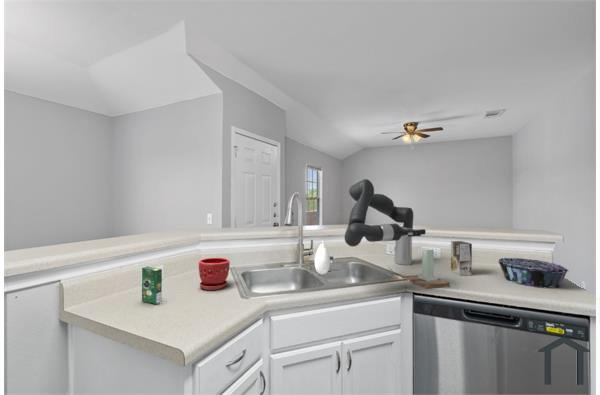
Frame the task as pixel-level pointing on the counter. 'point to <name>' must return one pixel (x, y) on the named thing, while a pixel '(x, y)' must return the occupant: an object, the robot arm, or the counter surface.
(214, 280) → the plant pot
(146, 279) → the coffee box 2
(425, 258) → the mint green tall block
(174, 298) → the counter surface
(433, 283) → the wooden cutting board
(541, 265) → the decorative bowl
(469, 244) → the coffee box
